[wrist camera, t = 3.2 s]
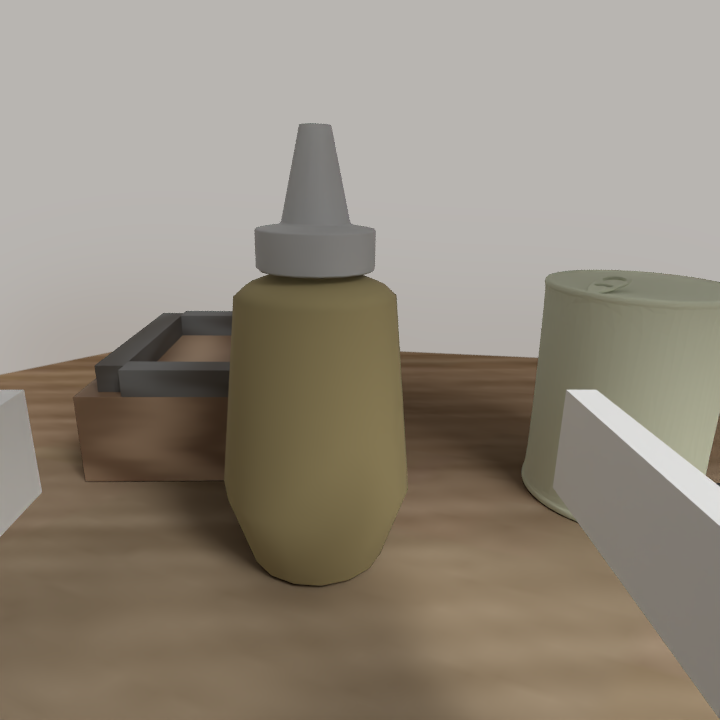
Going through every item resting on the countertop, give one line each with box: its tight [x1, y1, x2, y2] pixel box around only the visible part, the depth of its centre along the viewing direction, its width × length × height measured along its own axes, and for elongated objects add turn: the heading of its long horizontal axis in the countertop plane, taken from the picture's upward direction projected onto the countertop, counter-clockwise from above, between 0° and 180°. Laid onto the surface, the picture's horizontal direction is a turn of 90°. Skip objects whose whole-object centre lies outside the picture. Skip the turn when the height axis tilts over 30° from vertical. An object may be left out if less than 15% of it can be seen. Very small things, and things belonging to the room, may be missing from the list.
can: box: [521, 270, 720, 522], centre depth 29 cm, size 9×9×12 cm
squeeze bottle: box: [224, 123, 408, 586], centre depth 23 cm, size 8×8×18 cm
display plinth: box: [73, 311, 233, 481], centre depth 37 cm, size 16×14×6 cm
